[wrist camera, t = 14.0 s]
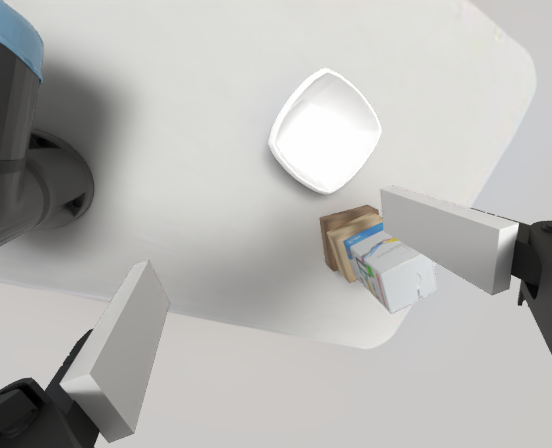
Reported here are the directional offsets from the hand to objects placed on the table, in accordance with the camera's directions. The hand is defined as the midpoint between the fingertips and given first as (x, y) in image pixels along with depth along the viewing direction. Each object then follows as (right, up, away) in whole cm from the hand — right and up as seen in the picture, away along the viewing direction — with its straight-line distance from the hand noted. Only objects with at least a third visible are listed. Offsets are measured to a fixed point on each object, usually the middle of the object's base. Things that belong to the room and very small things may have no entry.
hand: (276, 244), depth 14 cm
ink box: (+17, -4, +34) cm, 38 cm away
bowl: (+5, +18, +33) cm, 38 cm away
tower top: (+16, -3, +38) cm, 42 cm away
